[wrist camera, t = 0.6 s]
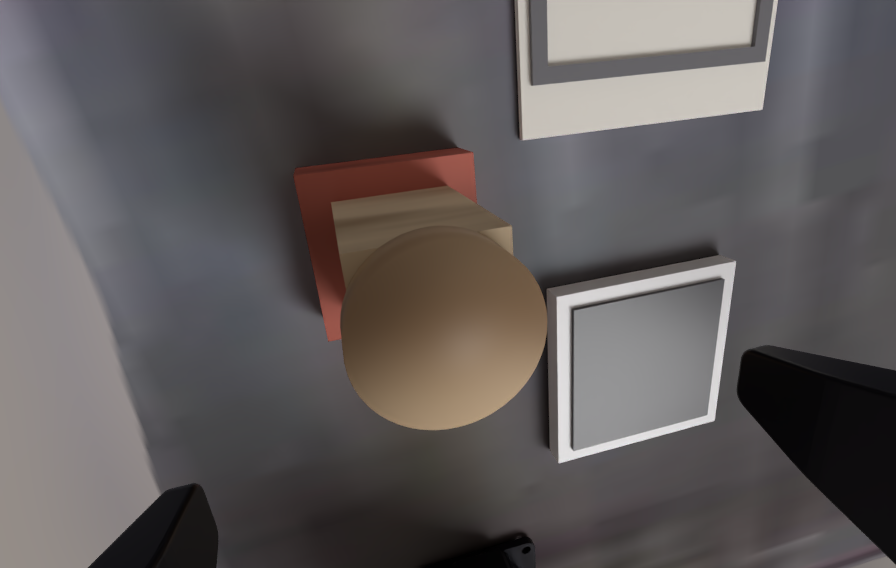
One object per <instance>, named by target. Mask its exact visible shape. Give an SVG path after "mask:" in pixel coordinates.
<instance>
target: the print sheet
mask: <svg viewBox="0 0 896 568" xmlns="http://www.w3.org/2000/svg"><path fill="white" fill-rule="evenodd" d="M777 2H778V0H515V27H516V54H517V80H518V107H519V133H520V140H529V139H537V138H545V137H552V136H560V135H568V134H576V133H584V132H591V131H599V130H607V129H615V128H623V127H631V126H638V125H646V124H654V123H662V122H670V121H677V120H685V119H693V118H701V117H709V116H717V115H724V114H732V113H740V112H748V111H756V110H762V109H763V102H764V95H765V88H766V81H767V74H768V67H769V59H770V52H771V45H772V38H773V31H774V24H775V17H776V10H777Z"/></svg>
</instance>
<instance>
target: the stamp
mask: <svg viewBox="0 0 896 568" xmlns="http://www.w3.org/2000/svg"><path fill="white" fill-rule="evenodd" d="M293 177H294V182H295V186H296V191H297V196H298V200H299V205H300V210H301V215H302V219H303V224H304V229H305V233H306V238H307V243H308V248H309V252H310V257H311V262H312V266H313V271H314V276H315V281H316V285H317V290H318V295H319V299H320V304H321V309H322V314H323V318H324V323H325V328H326V332H327V337H328V342H329V341H334V340H339V339H342V348H343V356H344V364H345V367H346V371H347V374H348V377H349V379H350V381H351V384H352V386H353V388H354V389H355V391H356V392H357V394H358V395H359V397H360V398H361V399H362V400H363V401H364V402H365V403H366V404H367V406H368V407H370V408H371V409H372V410H373V411H375V412H376V413H377V414H379V415H380V416H382V417H384V418H385V419H387V420H389V421H392V422H394V423H396V424H398V425H402V426H405V427H409V428H414V429H421V430H443V429H451V428H456V427H460V426H464V425H467V424H470V423H473V422H475V421H478V420H480V419H482V418H484V417H486V416H488V415H490V414H492V413H493V412H495V411H496V410H498V409H499V408H501V407H502V406H504V405H505V404H506V403H507V402H508V401H510V400H511V399H512V398H513V397H514V396H515V395H516V394H517V393H518V392H519V391H520V390H521V389H522V388H523V386H524V385H525V384H526V382H527V381H528V380H529V378H530V377H531V375H532V373H533V372H534V370H535V368H536V367H537V364H538V362H539V360H540V358H541V355H542V352H543V349H544V346H545V341H546V335H547V310H546V305H545V301H544V297H543V294H542V292H541V289H540V287H539V285H538V283H537V282H536V280H535V278H534V276H533V275H532V274H531V273H530V271H529V270H528V269H527V268H526V267H525V266H524V265H523V264H522V263H521V262H520V261H519V260H518V259H517V258H515V257H514V256H513V241H512V226H511V225H510V224H508V223H506V222H505V221H503V220H502V219H500V218H498V217H497V216H495V215H494V214H492V213H491V212H489V211H487V210H486V209H484V208H483V207H481V206H479V205H478V204H477V199H476V185H475V171H474V157H473V152H470V151H467V150H464V149H461V148H450V149H442V150H434V151H426V152H418V153H411V154H403V155H395V156H387V157H379V158H371V159H363V160H356V161H348V162H340V163H332V164H324V165H316V166H308V167H300V168H295V172H294V175H293Z"/></svg>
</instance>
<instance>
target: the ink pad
mask: <svg viewBox="0 0 896 568" xmlns="http://www.w3.org/2000/svg"><path fill="white" fill-rule="evenodd" d="M735 266H736V261H734V260H732V259H729V258H726V257H724V256H721V255H717V256H712V257H707V258H702V259H697V260H692V261H686V262H681V263H676V264H671V265H666V266H661V267H656V268H650V269H645V270H640V271H635V272H630V273H625V274H620V275H615V276H609V277H604V278H599V279H594V280H589V281H584V282H579V283H573V284H568V285H563V286H558V287H553V288H548V289H547V338H548V388H549V438H550V451H551V453H552V454H553V456H554V457H555V459H556V460H557V462H558V463H562V462H565V461H569V460H573V459H576V458H580V457H584V456H587V455H591V454H595V453H598V452H602V451H606V450H609V449H613V448H617V447H620V446H624V445H628V444H631V443H635V442H639V441H642V440H646V439H650V438H653V437H657V436H661V435H664V434H668V433H671V432H675V431H679V430H682V429H686V428H690V427H693V426H697V425H701V424H704V423H708V422H712V421H714V420H715V413H716V406H717V398H718V391H719V384H720V376H721V369H722V362H723V354H724V347H725V340H726V332H727V325H728V318H729V310H730V303H731V296H732V288H733V281H734V273H735Z"/></svg>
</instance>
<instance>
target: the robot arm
mask: <svg viewBox="0 0 896 568" xmlns="http://www.w3.org/2000/svg"><path fill="white" fill-rule="evenodd" d="M737 395H738V398H739V400H740V402H741V403H742V405H743V406H744V407H745V408H746V409H747V411H748V412H749V413H750V414H751V415H752V416H753V417H754V419H755V420H756V421H757V422H758V423H759V424H760V425H761V427H762V428H763V429H764V430H765V431H766V432H767V433H768V435H769V436H770V437H771V438H772V439H773V440H774V441H775V443H776V444H777V445H778V446H779V447H780V448H781V449H782V451H783V452H784V453H785V454H786V455H787V456H788V457H789V459H790V460H791V461H792V462H793V463H794V464H795V465H796V466H797V468H798V469H799V470H800V471H801V472H802V473H803V474H804V475H805V476H806V477H807V478H808V479H809V480H810V481H811V482H812V483H813V484H814V485H815V486H816V487H817V488H818V489H819V490H820V491H821V492H822V493H823V494H824V495H825V496H826V497H827V498H828V499H829V500H830V501H831V502H832V503H833V504H834V505H835V506H836V507H837V508H838V509H839V510H840V511H841V512H842V513H843V514H844V515H845V516H846V517H847V518H848V519H849V520H851V521H852V522H853V523H854V524H855V525H856V526H857V527H858V528H859V529H860V530H861V531H862V532H863V533H864V534H865V535H866V536H867V537H868V538H869V539H870V540H871V541H872V542H873V543H874V544H875V545H876V546H877V547H878V548H879V549H880V550H881V551H882V552H883V553H884V554H885V555H886V556H887V557H889V558H890V559H891V560H892V561H893V562H894V563H895V564H896V371H895V370H890V369H885V368H880V367H875V366H870V365H865V364H860V363H855V362H850V361H845V360H840V359H835V358H830V357H825V356H820V355H815V354H810V353H805V352H800V351H795V350H790V349H785V348H780V347H775V346H770V345H766V346H760V347H756V348H752V349H748V350H746V351H745V352H744V353H743V355H742V357H741V362H740V369H739V375H738V382H737ZM217 552H218V531H217V526H216V523H215V520H214V517H213V514H212V512H211V509H210V506H209V503H208V501H207V498H206V495H205V492H204V490H203V488H202V487H201V486H200V485H199V484H196V483H192V484H188V485H184V486H180V487H176V488H172V489H169V490H167V491H165V492H164V493H163V494H162V495H161V496H160V497H159V498H158V499H157V500H156V501H155V502H154V503H153V504H152V505H151V506H150V507H149V508H148V509H147V510H146V511H145V512H144V513H143V514H142V515H141V516H139V518H137V519H136V521H135V522H133V524H131V525H130V526H129V527H128V528H127V530H125V531H124V532H123V533H122V534H121V535H120V537H118V538H117V539H116V540H115V541H114V542H113V543H112V544H111V545H110V546H109V547H108V548H107V549H106V550H105V551H104V552H103V553H102V554H101V555H100V556H99V557H98V558H97V559H96V560H95V561H94V562H93V563H92V564H91V565H90V566H89V567H88V568H216V564H217ZM424 568H536V562H535V546H534V544H533V542H532V540H531V539H530V538H529V537H523V538H520V539H516V540H513V541H510V542H506V543H503V544H500V545H496V546H493V547H490V548H487V549H483V550H480V551H477V552H473V553H470V554H467V555H463V556H460V557H457V558H453V559H450V560H447V561H443V562H440V563H437V564H434V565H430V566H427V567H424Z"/></svg>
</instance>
